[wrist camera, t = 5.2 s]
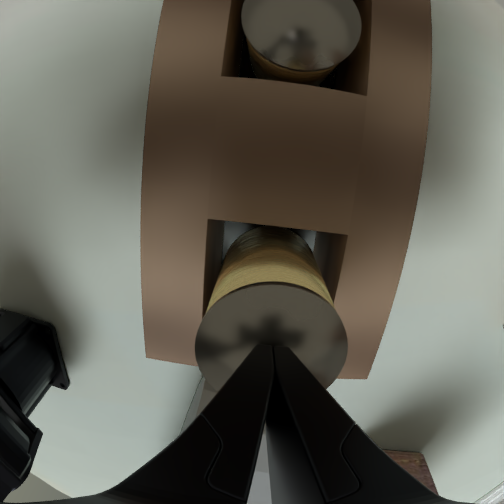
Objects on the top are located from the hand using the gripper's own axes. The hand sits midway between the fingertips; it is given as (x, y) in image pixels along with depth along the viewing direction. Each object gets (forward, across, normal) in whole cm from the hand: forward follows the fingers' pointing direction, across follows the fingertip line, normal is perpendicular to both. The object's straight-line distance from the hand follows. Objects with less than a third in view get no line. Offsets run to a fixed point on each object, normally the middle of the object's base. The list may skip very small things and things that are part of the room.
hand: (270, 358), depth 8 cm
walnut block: (+10, 0, -5) cm, 11 cm away
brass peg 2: (+6, 0, 0) cm, 6 cm away
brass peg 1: (+10, 0, -10) cm, 14 cm away
